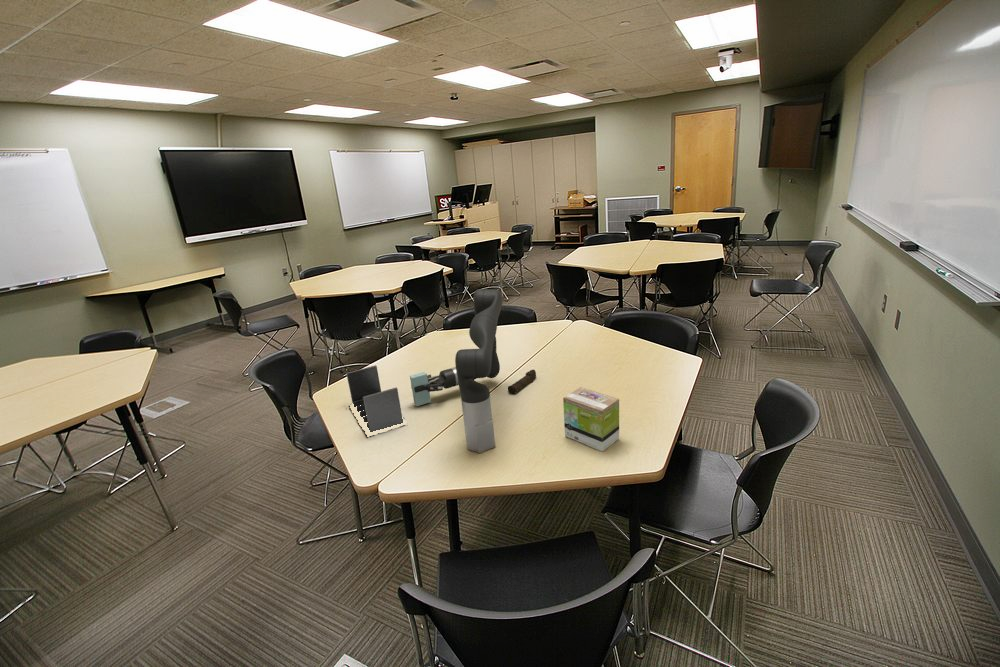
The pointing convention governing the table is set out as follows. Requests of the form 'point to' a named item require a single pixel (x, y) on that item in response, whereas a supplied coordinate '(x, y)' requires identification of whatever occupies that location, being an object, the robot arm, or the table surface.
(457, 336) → the table surface
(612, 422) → the tea box
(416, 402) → the tall pale blue pillar
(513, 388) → the hand tool
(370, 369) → the rack
